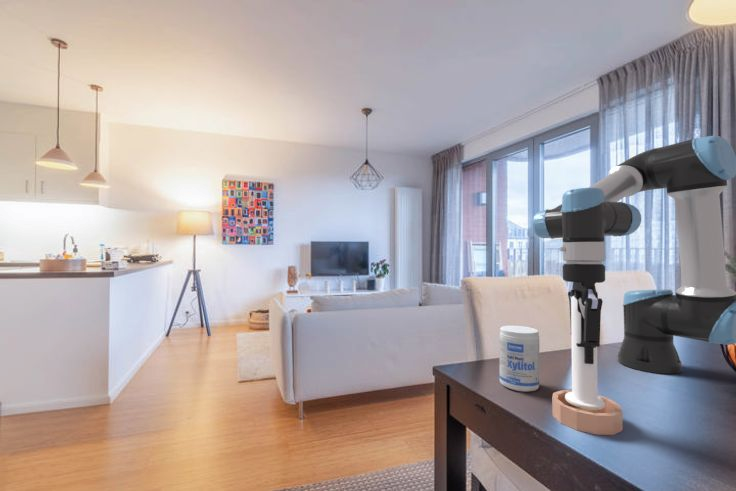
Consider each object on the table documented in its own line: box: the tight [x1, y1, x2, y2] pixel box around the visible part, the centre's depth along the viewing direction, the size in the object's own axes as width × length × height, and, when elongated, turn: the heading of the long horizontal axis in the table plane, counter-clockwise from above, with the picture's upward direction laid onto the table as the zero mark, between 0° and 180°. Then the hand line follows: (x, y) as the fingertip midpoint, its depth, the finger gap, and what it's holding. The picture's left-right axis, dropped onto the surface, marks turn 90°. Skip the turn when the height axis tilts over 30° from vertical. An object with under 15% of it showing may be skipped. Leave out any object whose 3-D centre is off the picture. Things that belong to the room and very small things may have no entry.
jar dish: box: [551, 389, 624, 436], centre depth 71 cm, size 12×12×4 cm
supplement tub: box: [498, 325, 540, 393], centre depth 89 cm, size 10×10×15 cm
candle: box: [565, 296, 605, 410], centre depth 71 cm, size 7×7×25 cm
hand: (584, 375), depth 71 cm, fingers closed on candle, 2 cm apart
